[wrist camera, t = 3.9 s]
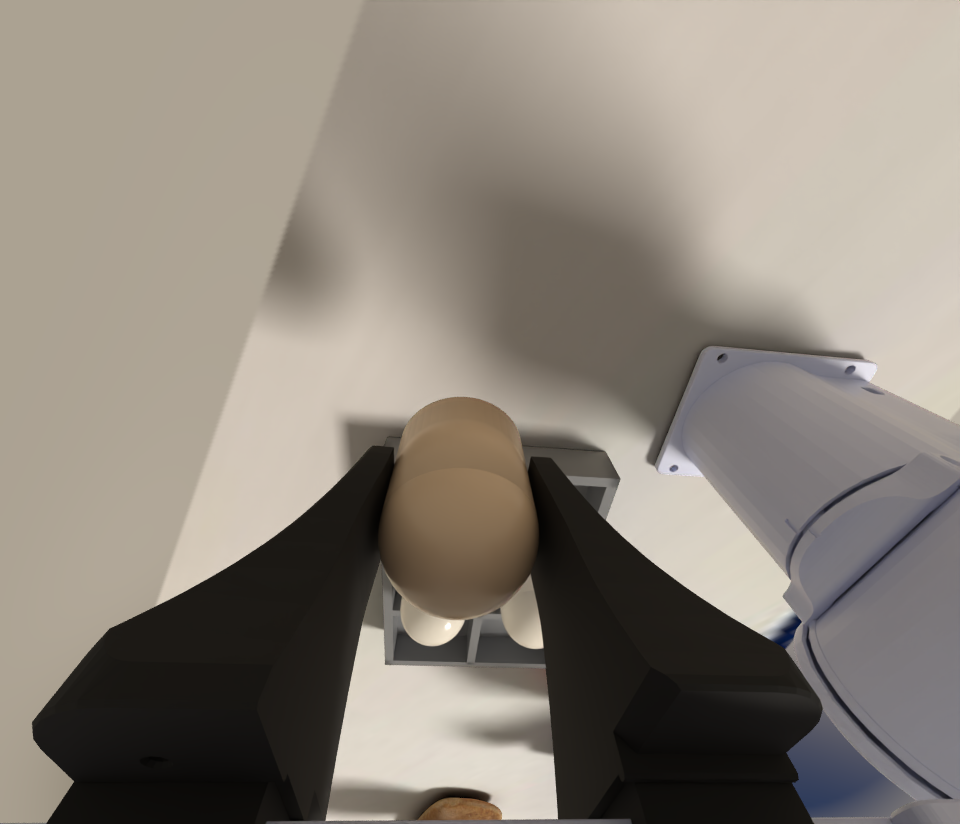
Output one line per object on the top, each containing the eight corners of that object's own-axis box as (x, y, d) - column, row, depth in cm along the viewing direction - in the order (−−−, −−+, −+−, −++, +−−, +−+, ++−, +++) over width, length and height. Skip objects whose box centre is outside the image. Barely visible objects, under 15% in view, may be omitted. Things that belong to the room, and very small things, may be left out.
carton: (605, 451, 23) (620, 479, 21) (546, 636, 32) (552, 668, 30) (387, 436, 22) (378, 463, 20) (390, 631, 31) (385, 664, 29)
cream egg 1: (469, 540, 26) (470, 620, 21) (464, 579, 27) (464, 661, 23) (408, 537, 25) (395, 618, 20) (407, 577, 27) (395, 659, 22)
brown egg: (530, 402, 12) (573, 541, 7) (512, 499, 14) (535, 658, 9) (400, 391, 12) (355, 530, 7) (400, 492, 14) (364, 654, 9)
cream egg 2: (559, 544, 26) (580, 624, 21) (548, 583, 28) (565, 663, 23) (500, 542, 26) (508, 621, 21) (493, 581, 28) (499, 662, 23)
